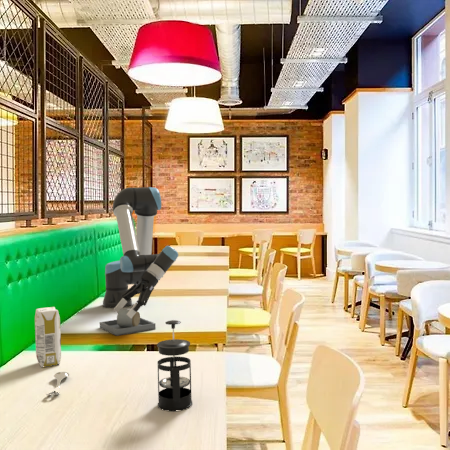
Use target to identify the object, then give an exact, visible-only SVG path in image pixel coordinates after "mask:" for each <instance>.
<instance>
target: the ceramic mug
mask: <svg viewBox="0 0 450 450" xmlns="http://www.w3.org/2000/svg"><path fill="white" fill-rule="evenodd" d="M129 310H130V309H126V308H122V309H120V310H119V312H118V313H117V316H116V320H117V324H118V326H120V327H134V326H138V324H139V323H140V318H141V314H140V312H139V311H137V312H136V313H135V315H134V316H133V317H132V318H130V317H128V316H127V315H126V314H127V313H128V312H129Z"/></svg>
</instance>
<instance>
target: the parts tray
mask: <svg viewBox="0 0 450 450" xmlns="http://www.w3.org/2000/svg"><path fill="white" fill-rule="evenodd" d="M99 328H100V329H102V330H103V331H105V330H106V332H107V331H108V333H110V334H112V335H114V336H115V337H119V336H125V335H129V334H135V333H142V332H148V331H153V330H156V328H157V327H156V323H155V322H154V321H150V320H148V319H145V318H142V317H140V323H139V324H138V326H134V327H120V326H118V324H117V319H113V320H106V321H100V322H99Z"/></svg>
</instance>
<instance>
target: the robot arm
mask: <svg viewBox="0 0 450 450" xmlns="http://www.w3.org/2000/svg"><path fill="white" fill-rule="evenodd" d="M161 210H162V197H161V193H160V191H159V189H158V188H157V187H151V186H147V187H146V186H145V187H141V186H140V187H132V186H131V187H126V188H123V189H122V190H120V191H119V192H118V193H117V194H116V196H115V198H114V200H113V202H112V212H113V216H115V217H116V222H117V227H118V233H119V238H120V243H121V248H122V249H121V250H122V254H123V255H122V256H121V257H120V258H119V260H115V261H111V262H108V263H106V264H105V269H104V271H105V272H104V276H105V278H104V279H105V293H104V296H103V300H102V306H103V307H104V308H110V309H112V308H113V310H114V312H115V313H117V314H118V312H119V310H120V309H124V308H127V307H131V306H132V304H133V300H132V298H133V297H135V296H137V295H139V296H138V299H137V300H136V302H135V303H134V304H133V306H132V307H131V308H130V309H128V310H129V312H128V313H127V314H126V315H127V316H128V317H130V318H132V317H133V316H134V315H135V313H136V312H139V310H140V308H141V307H143V306H145V307H146V305H147V303H148V301H149V299H150V297H151V295H152V292H153V291H154V289H155V287H156V286H157V285H158V283H159V281H161V279H162V278H163V277H164V275H165V274H166V273H167V272H168V270H169V269H170V268H171V267H172V266H173V264H174V263H175V262H176V261H177V259H178V257H179V253H178V251H177V250H176V249H175V248H174V247H173V246H170V245H165V247H163V249H162V250H161V251H160V252H159V253H158V254H157V253H156V254H152V252H153V236H154V235H153V234H154V224H155V223H154V222H155V217H156V216H157V215H158V211H161ZM133 212H134V214H135V216H137V217H136V228H135V224H134V219H133ZM129 285H131V286H130V287H129Z"/></svg>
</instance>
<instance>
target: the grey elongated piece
mask: <svg viewBox="0 0 450 450" xmlns="http://www.w3.org/2000/svg"><path fill="white" fill-rule="evenodd" d="M67 376H68V377H70V373H69V372H66V371H59V372H56V373H55V374H54V375H53V377H54V378H55V379H56V386H55V388H56V387H58V386H59V387H60V385H61V381H62V380H64V379H65V378H68V377H67ZM59 393H60V392H59ZM59 393H58V392H54V393H53V391H52V392H50V393H49V392H48V393H46V394H45V395H46V396H53V395H60V394H59Z"/></svg>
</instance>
